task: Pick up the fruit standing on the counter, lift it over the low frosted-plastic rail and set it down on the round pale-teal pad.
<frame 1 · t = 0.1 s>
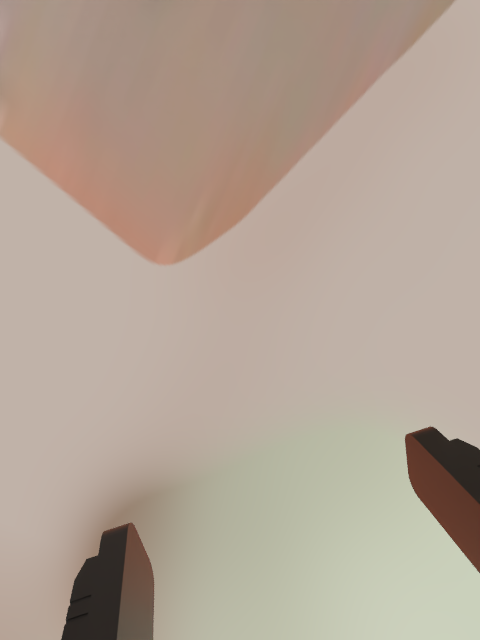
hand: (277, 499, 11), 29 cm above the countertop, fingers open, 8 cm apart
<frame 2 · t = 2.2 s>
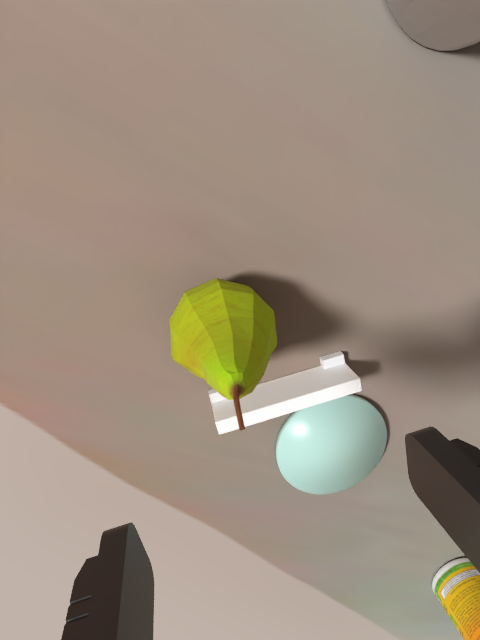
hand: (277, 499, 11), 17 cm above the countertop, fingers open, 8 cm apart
fruit: (216, 313, 27), on the countertop
rail: (278, 384, 29), on the countertop
pad: (330, 443, 32), on the countertop
supplement bottle: (453, 574, 40), on the countertop
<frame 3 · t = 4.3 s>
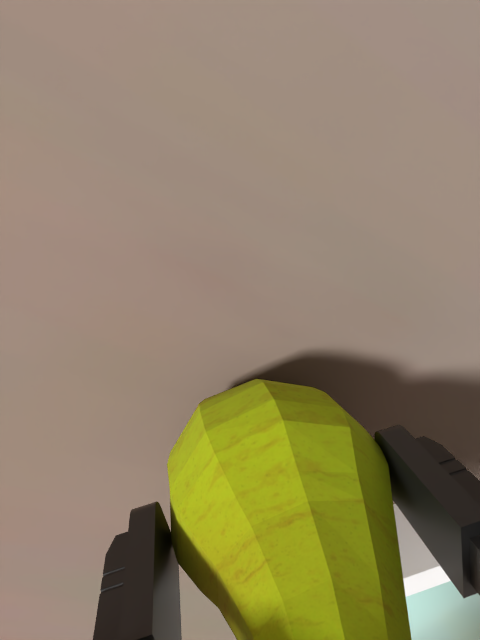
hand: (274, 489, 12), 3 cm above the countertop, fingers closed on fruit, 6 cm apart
fruit: (251, 422, 15), on the countertop, touching gripper
rail: (351, 527, 17), on the countertop
pad: (424, 602, 20), on the countertop
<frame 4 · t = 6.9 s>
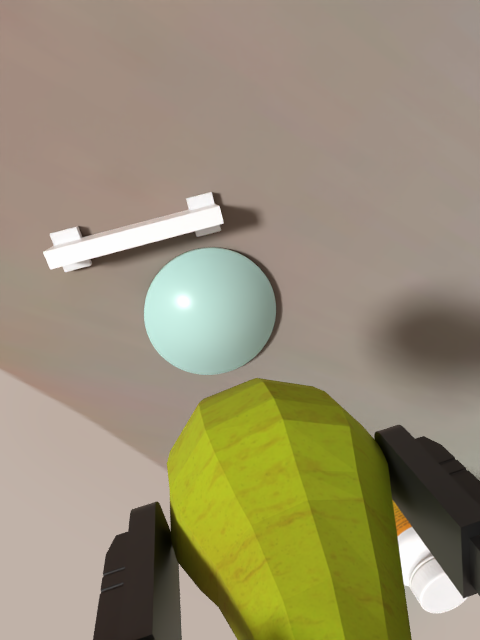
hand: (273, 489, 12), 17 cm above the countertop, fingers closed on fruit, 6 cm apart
fruit: (251, 421, 15), point 14 cm above the countertop, touching gripper
rail: (138, 231, 25), on the countertop
pad: (211, 312, 28), on the countertop
supplement bottle: (375, 488, 36), on the countertop
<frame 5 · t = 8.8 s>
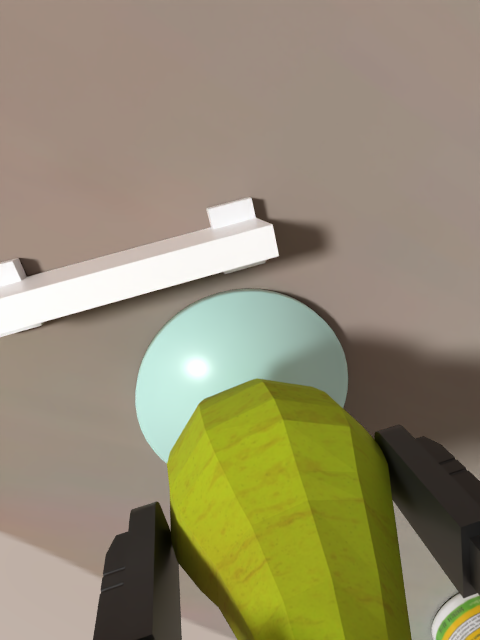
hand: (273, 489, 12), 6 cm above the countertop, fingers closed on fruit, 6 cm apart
fruit: (251, 421, 15), point 3 cm above the countertop, touching gripper
rail: (125, 264, 15), on the countertop
pad: (243, 389, 17), on the countertop
supplement bottle: (465, 611, 26), on the countertop
when the fingers open (5 cm above the countertop, at t = 10.0 s): fruit drops 1 cm, resting on pad.
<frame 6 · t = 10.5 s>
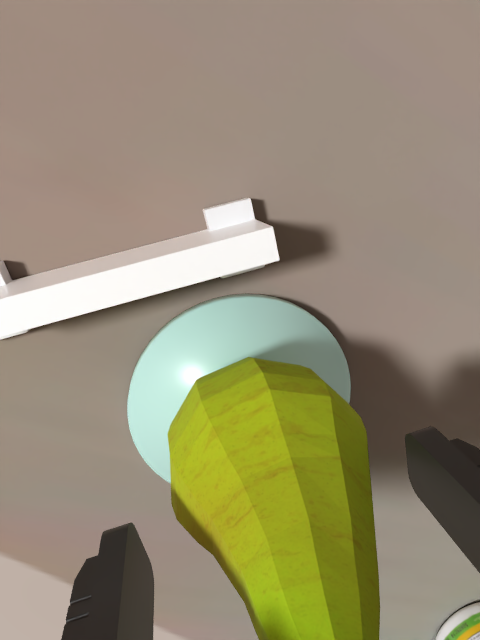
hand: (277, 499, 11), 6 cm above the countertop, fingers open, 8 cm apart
fruit: (245, 401, 16), resting on pad
rail: (117, 268, 14), on the countertop
pad: (241, 399, 17), on the countertop
supplement bottle: (468, 626, 25), on the countertop
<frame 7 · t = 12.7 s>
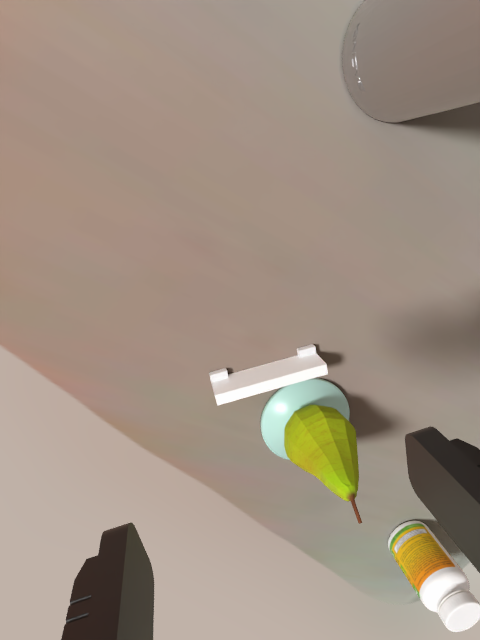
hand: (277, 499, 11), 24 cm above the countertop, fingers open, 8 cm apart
fruit: (306, 419, 40), resting on pad
rail: (264, 369, 37), on the countertop
pad: (304, 418, 40), on the countertop
supplement bottle: (406, 535, 48), on the countertop
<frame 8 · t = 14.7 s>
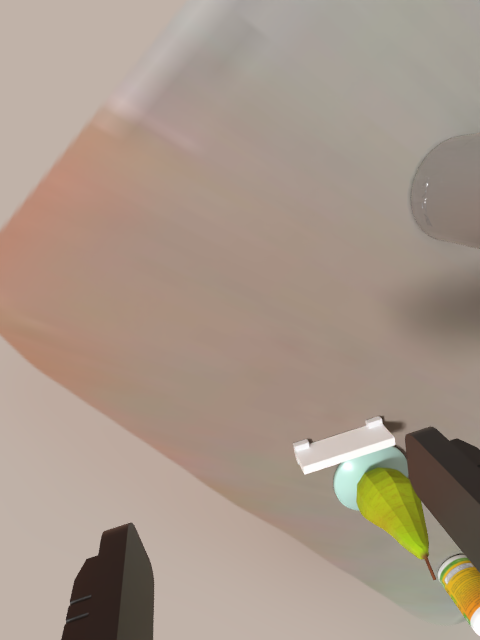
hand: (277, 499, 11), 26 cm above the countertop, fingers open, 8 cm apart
fruit: (372, 476, 46), resting on pad
rail: (337, 438, 44), on the countertop
pad: (369, 475, 47), on the countertop
supplement bottle: (453, 567, 55), on the countertop
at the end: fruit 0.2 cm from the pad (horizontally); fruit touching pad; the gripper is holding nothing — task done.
